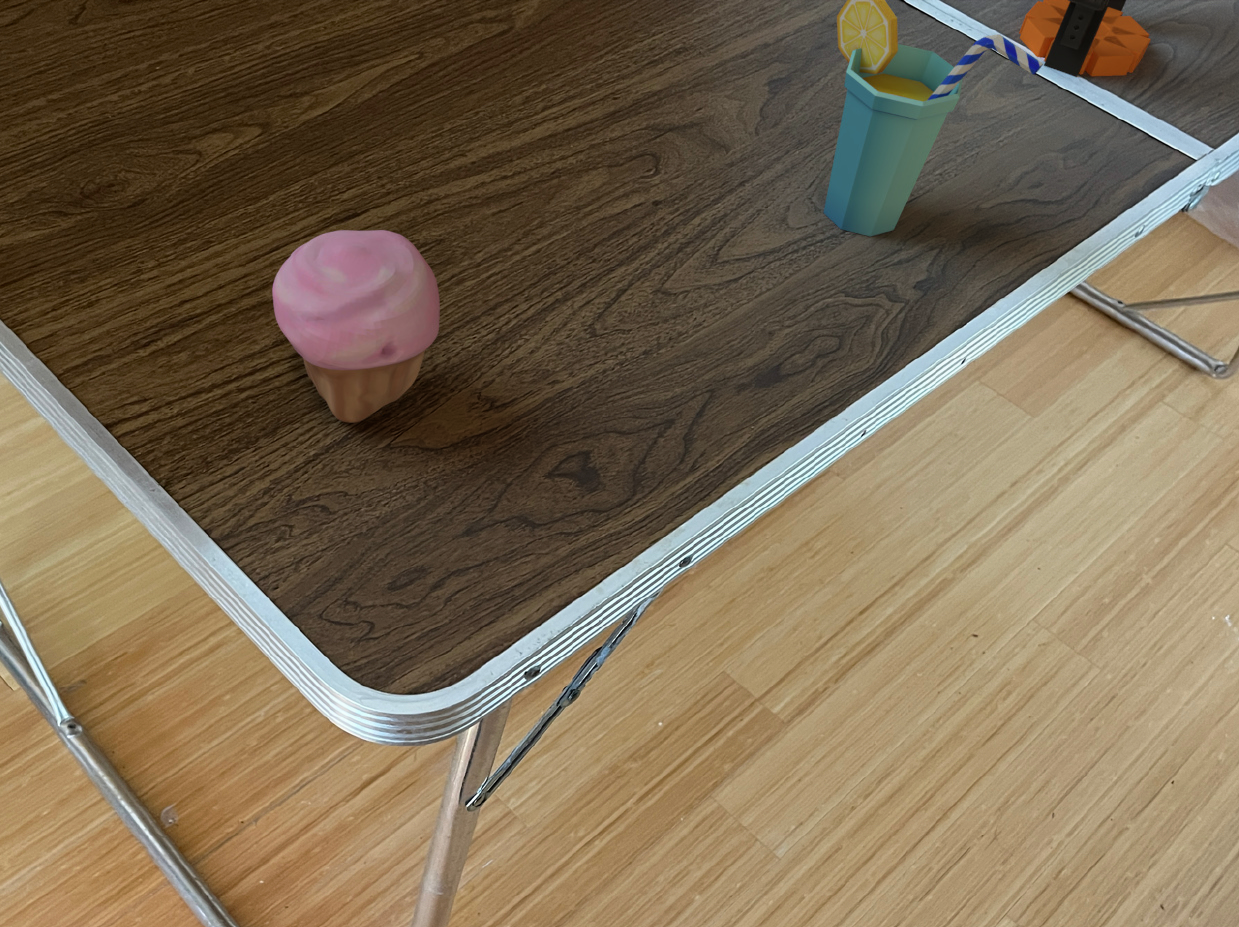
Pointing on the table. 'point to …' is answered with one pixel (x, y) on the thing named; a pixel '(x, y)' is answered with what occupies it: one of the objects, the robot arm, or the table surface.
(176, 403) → the table surface
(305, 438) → the table surface
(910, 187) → the cup
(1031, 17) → the ring
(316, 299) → the cupcake
